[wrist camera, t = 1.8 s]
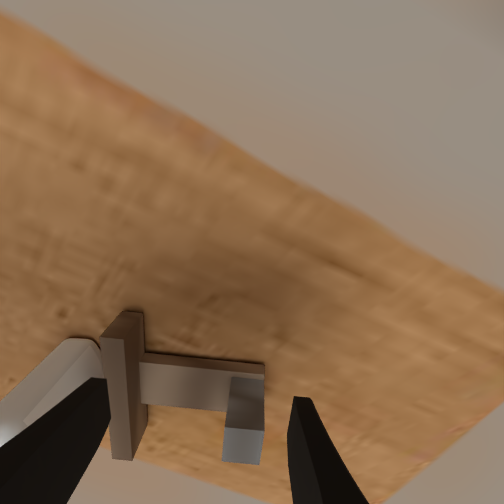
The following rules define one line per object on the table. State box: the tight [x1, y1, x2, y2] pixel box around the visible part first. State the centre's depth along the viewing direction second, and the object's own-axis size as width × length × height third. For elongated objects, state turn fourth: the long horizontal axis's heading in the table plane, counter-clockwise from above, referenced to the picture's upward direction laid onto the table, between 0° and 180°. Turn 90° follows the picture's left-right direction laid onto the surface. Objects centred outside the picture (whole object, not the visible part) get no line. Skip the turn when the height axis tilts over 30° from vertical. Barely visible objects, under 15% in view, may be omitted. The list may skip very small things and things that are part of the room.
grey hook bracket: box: [100, 311, 265, 465], centre depth 20 cm, size 11×11×5 cm
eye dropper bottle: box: [0, 338, 104, 447], centre depth 17 cm, size 4×6×12 cm
